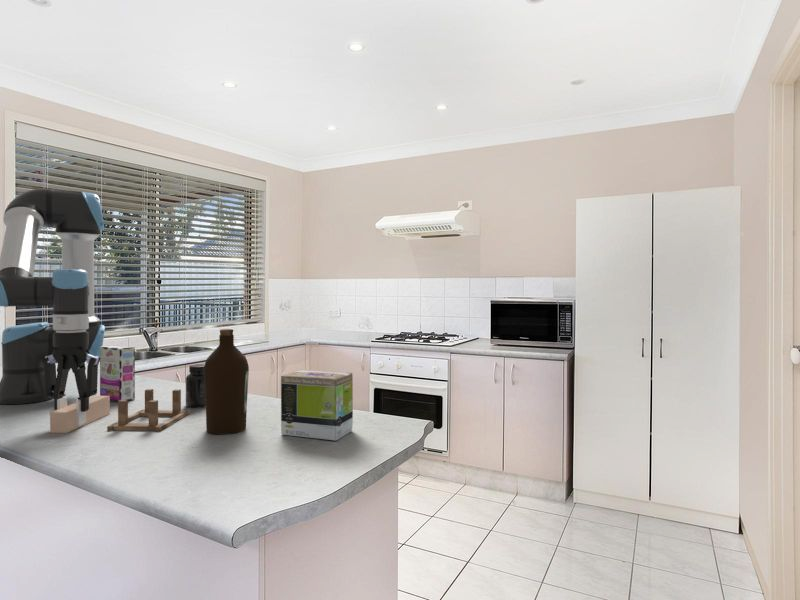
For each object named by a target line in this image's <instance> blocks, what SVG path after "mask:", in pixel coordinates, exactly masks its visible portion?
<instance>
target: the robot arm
mask: <svg viewBox="0 0 800 600" xmlns="http://www.w3.org/2000/svg"><path fill="white" fill-rule="evenodd" d="M3 223H4V225H5V232H4V237H3V240H2V241H3V242H2V247H1V252H0V307H4V308H7V307H45V306H46V307H52V326H50V323H49V322H48V321H43V322H41V321H40V322H34V323H33V322H31V323H25V324H19V325H13V326H9V327H6V328H4V330H2V336H1V337H2V338H1V343H0V344H1V353H2V354H1V355H2V357H1V358H2V359H1V360H2V371H1V372H2V376H1V379H0V405H22V404H31V403H33V404H34V403H39V402H44V401H48V400H51V399H53V401H54V402H53V403H54V407H53V408H54V409H53V411H55V410H57V409H60V408H63V407H66V406H68V396H66V395H67V394H66V393H65V391H66V389H67V388H66V387H67V382H68V377H69V372H70V371H72V374H73V375H74V379H75V383H76V388H77V392H78V397H77V399H75V403H76V426H80V425H82V424H85V423H86V411H88V410H89V398H90V397H93V396H97V394H98V376H99V375H98V373H99V365H100V359H101V358H100V347H101V346H104V339H105V338H104V337H105V331H106V326H105V325H103V324H101V322H100V321H101V319H100V318H99V317H97V316H96V315H95V249H94V248H95V244H94V243H95V240H96V239H97V238H99V236H100V231H104V230H105V225H104V216H103V209H102V205H101V199H100V197H99V195H97V194H96V193H92V192H85V191H76V190H66V189H65V190H64V189H63V190H62V189H51V188H34V189H31V190H27V191H25V192H22V193H21V194H19V195H17V196H16V197H15V198H13V199H12V200H11V201H10V202H9V204H8V205H7V206H6V208H5V210H4V213H3ZM43 228H54V229H55V234H56V235H57V236H58V237H59V238H60V240H61V268H57V269H56V268H55V269H54V270H53V271H52V277H51V276H34V273H35V266H36V259H37V257H36V256H37V248H38V240H39V234H40V233H39V232H41V231H42V230H43ZM85 362H86V363H85ZM56 364H57V365H56ZM86 364H87V365H86ZM86 366H87V368H86Z"/></svg>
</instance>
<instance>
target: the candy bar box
mask: <svg viewBox="0 0 800 600" xmlns="http://www.w3.org/2000/svg"><path fill="white" fill-rule="evenodd" d="M135 350H136V347H134V346H133V347H132V346H122V345H103V346H101V347H100V358H101V359H100V361H99V396H110V401H113V402H117V403H118V401H120V400H128V402H130V401H133V400H134V401H135V399H136V397H135V395H136V391H135V390H136V389H135V388H136V387H135V386H136V385H135V384H136V383H135V379H136V376H135V374H136V366H135V365H136V364H135V363H136V362H135V359H136V351H135Z"/></svg>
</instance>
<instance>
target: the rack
mask: <svg viewBox="0 0 800 600" xmlns="http://www.w3.org/2000/svg"><path fill="white" fill-rule="evenodd" d="M181 392H182V389H181V388H179V389H176V388H175V389H173V390H172V393H171V394H172V396H171V397H172V399H171V400H172V401H171V402H172V405H171V406H172V408H171V409H159V400H158V399H154V388H147V389H145V390H144V409H141V410H139V411H137V412H135V413H133V414H130V415H129V401H128V400H120V401H118V402H117V421H116V422H114V423H112V424H110V425H108V426H107V427H106V428H107V429H106V430H107V431H110V432H111V431H154V432H155V431H156V432H162V431H164V430H166V429H167V428H169V427H170V426H172V425H174V424H175V423H177V422H178V421H180V420H182V419H183V418H185V417H187V416H188V415H190V414H191V410H190V409H184V410H182V401H181V400H182V393H181ZM141 417H148V422H133V421H134V420H136V419H138V418H141ZM159 417H160V418H162V417H163V418H164V417H166V418H167V417H168V418H170V419H167V420H166V421H164V422H159Z"/></svg>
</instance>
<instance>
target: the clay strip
mask: <svg viewBox="0 0 800 600" xmlns="http://www.w3.org/2000/svg"><path fill="white" fill-rule="evenodd" d="M110 406H111V400H110V396H100V395H93V396H90V397H89V410H88V411H86V423H85V424H82V425H80V426H76V402H74V403H72V404H69V405H68V404H67V406H66V407H63V408H60V409H57V410H53V411H50V412H49V424H50V425H49V428H50V429H49V433H51V434H68V433H70V432H72V431H75V430H76V429H79V428H81V427H83V426H85V425H87V424H88V425H89V424H91V423H92V422H94V421H97V420H99V419H101V418H104V417H106V416H108V415H110V414H111V407H110Z"/></svg>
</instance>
